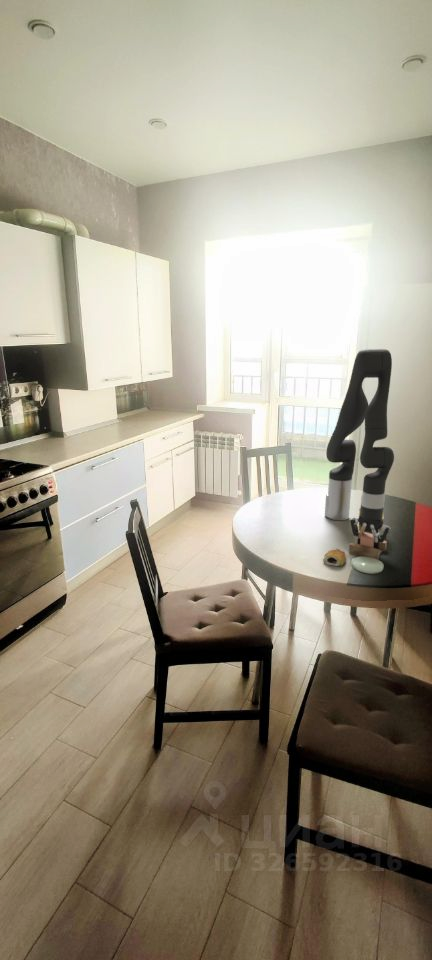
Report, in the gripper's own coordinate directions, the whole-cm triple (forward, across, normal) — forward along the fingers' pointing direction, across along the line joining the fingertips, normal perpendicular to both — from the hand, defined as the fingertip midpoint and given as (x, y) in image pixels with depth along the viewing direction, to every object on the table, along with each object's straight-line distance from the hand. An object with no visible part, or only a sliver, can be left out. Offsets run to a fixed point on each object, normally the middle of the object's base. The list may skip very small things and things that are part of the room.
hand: (367, 549), depth 156 cm
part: (+1, 0, 0) cm, 1 cm away
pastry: (+1, -7, -14) cm, 15 cm away
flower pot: (+1, -4, +14) cm, 15 cm away
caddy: (+1, 0, 0) cm, 1 cm away
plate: (+1, +4, -11) cm, 12 cm away
